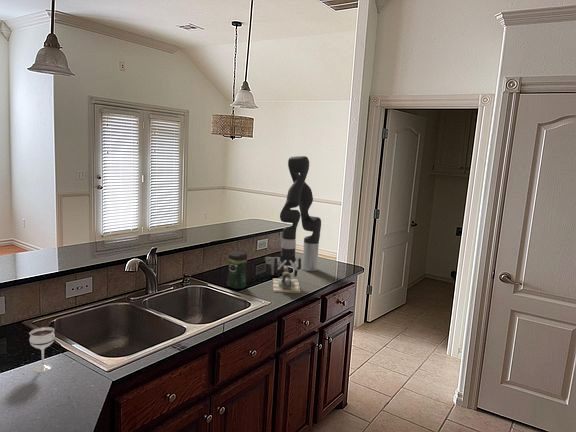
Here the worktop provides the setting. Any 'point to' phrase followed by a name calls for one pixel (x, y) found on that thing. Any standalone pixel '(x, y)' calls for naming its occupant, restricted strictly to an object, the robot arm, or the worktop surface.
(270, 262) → the mechanical component
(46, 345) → the wineglass
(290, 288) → the shaft rig
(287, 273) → the coupling block
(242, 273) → the coffee jar
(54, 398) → the worktop surface
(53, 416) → the worktop surface
